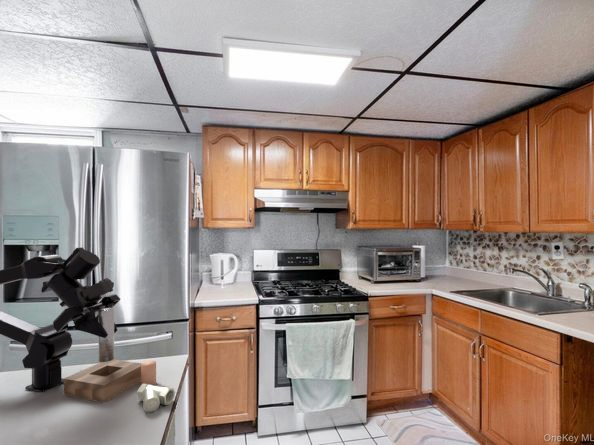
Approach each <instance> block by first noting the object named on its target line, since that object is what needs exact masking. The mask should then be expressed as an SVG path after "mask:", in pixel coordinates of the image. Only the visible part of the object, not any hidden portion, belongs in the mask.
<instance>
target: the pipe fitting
mask: <svg viewBox="0 0 594 445" xmlns="http://www.w3.org/2000/svg"><path fill="white" fill-rule="evenodd" d="M136 393H137V394H136V396H137V400H138V401H143V403H142V404H143V410H144V411H145V412H146V413H151V412H152V413H153V412H156V411H157V410H158V409H159V407H160V405H167V406H169V405H171V404H172V403H173V401H174V399H175V396H176V395H175V394H176V391H175V388H173V387H165V386H161V385H151V384H142V385H140V386H139V388H138V390H137V392H136Z"/></svg>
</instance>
